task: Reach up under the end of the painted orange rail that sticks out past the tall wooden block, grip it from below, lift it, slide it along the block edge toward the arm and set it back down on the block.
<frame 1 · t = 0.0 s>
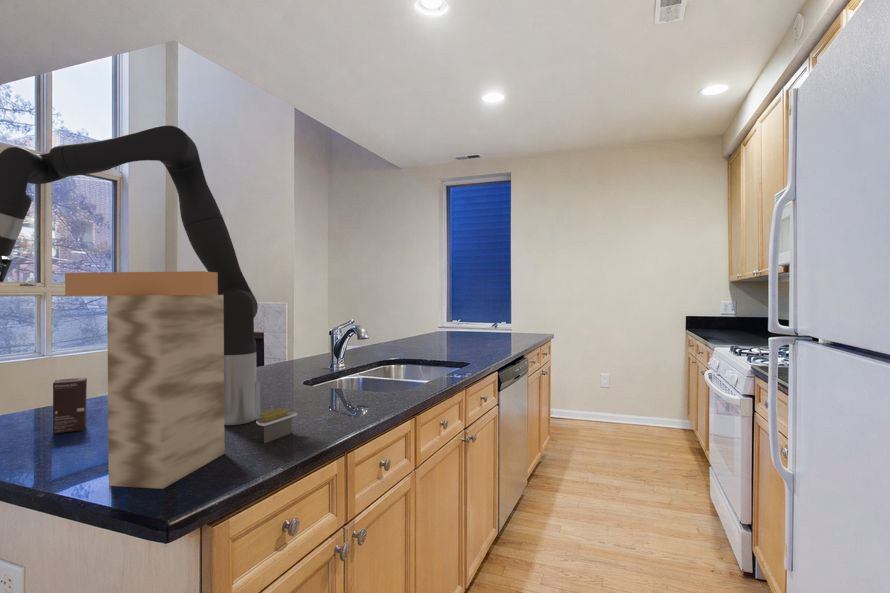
tall wooden block: (171, 468, 86), on the worktop
rail: (141, 295, 81), point 32 cm above the worktop, touching tall wooden block
box: (70, 431, 110), on the worktop
coffee jar: (206, 410, 129), on the worktop
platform: (275, 440, 104), on the worktop
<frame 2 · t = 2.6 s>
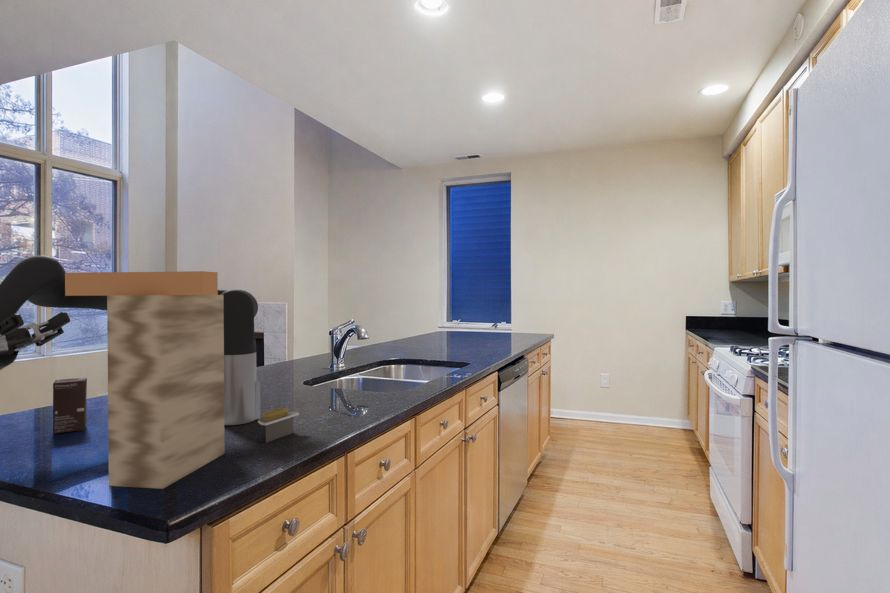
hand: (44, 317, 84), 28 cm above the worktop, tool pointing upward, fingers open, 8 cm apart
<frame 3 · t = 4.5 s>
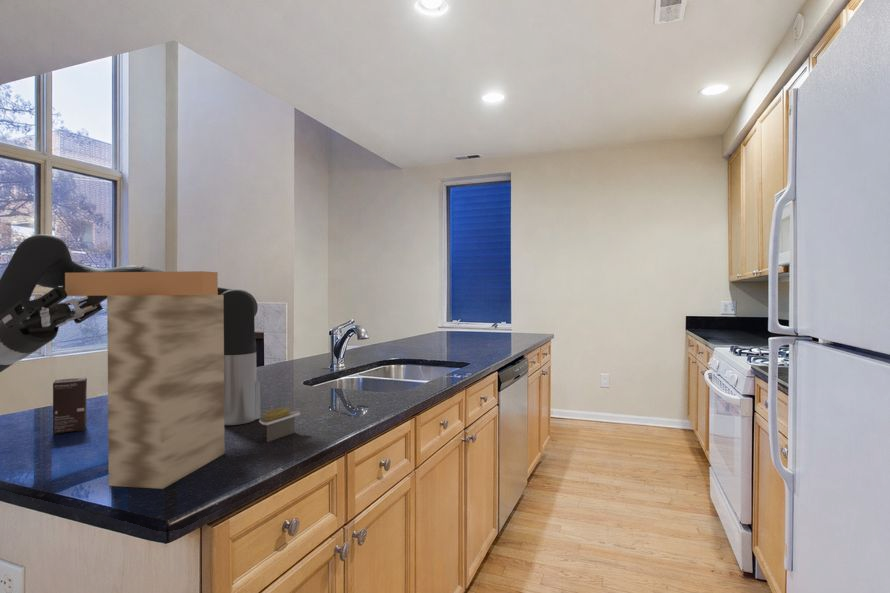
hand: (86, 290, 83), 33 cm above the worktop, tool pointing upward, fingers open, 8 cm apart
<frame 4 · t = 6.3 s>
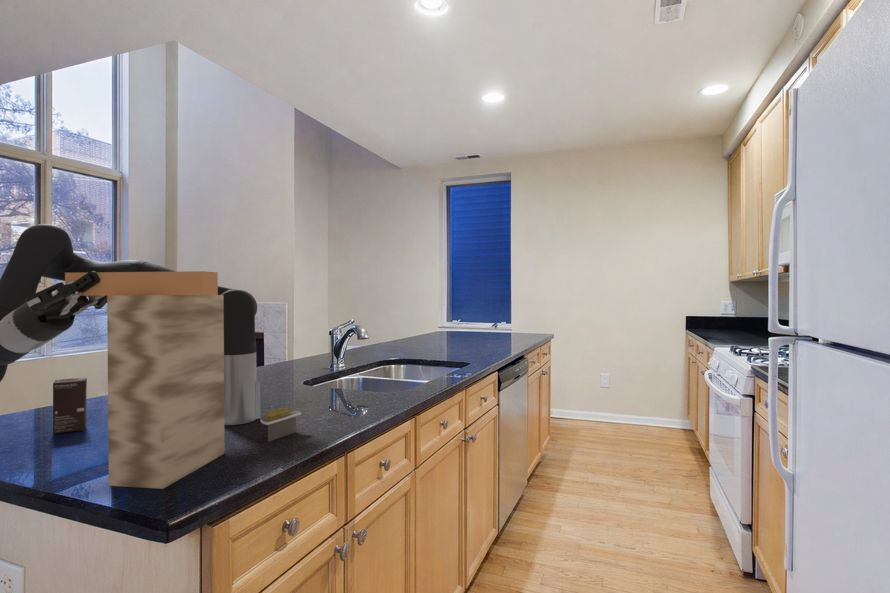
hand: (107, 276, 82), 35 cm above the worktop, tool pointing upward, fingers closed on rail, 4 cm apart
rail: (141, 295, 81), point 32 cm above the worktop, touching gripper, tall wooden block
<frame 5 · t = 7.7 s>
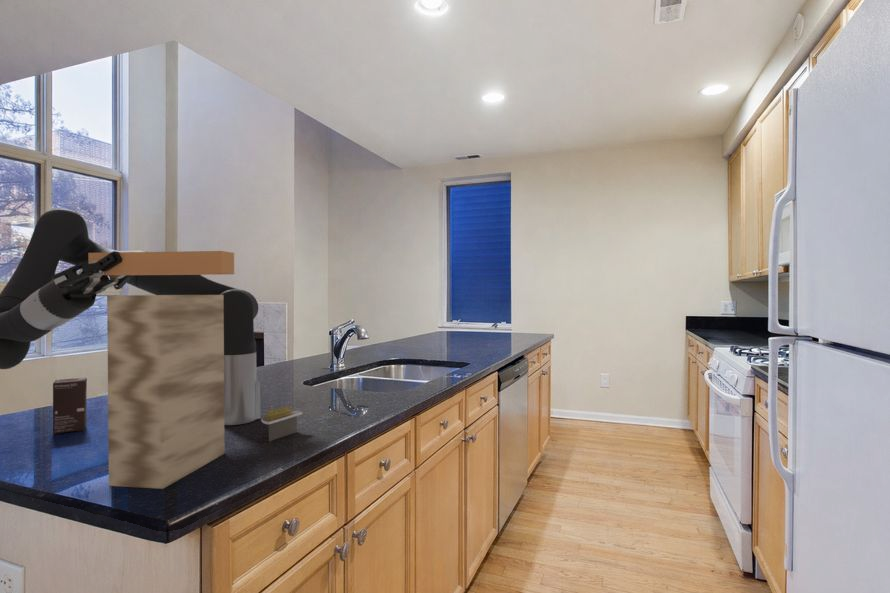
hand: (129, 256, 86), 39 cm above the worktop, tool pointing upward, fingers closed on rail, 4 cm apart
rail: (161, 274, 86), point 36 cm above the worktop, touching gripper
when the fingers open (36 cm above the worktop, at t = 9.3 s): rail stays where it is, resting on tall wooden block.
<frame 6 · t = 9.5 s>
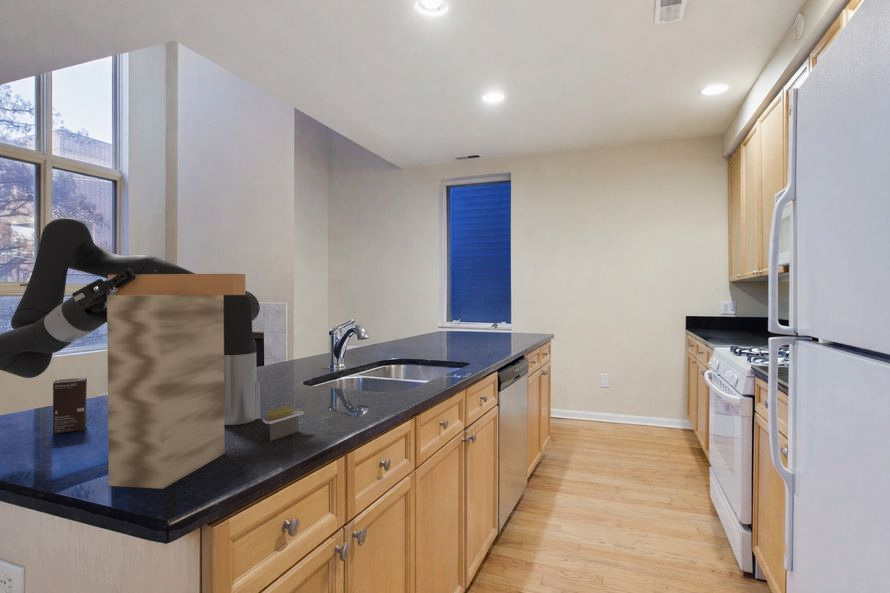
hand: (145, 273, 91), 36 cm above the worktop, tool pointing upward, fingers open, 6 cm apart
rail: (177, 295, 90), point 32 cm above the worktop, touching tall wooden block
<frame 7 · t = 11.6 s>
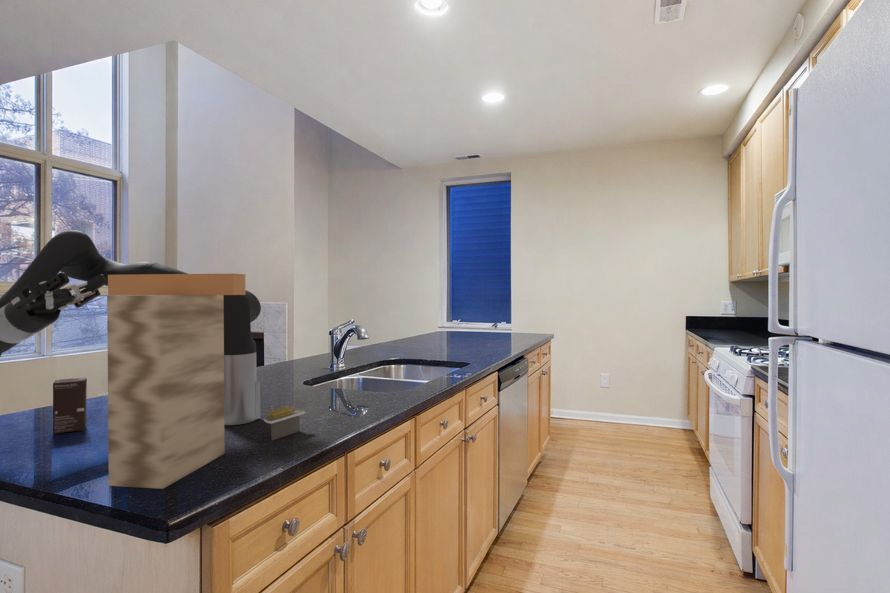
hand: (86, 277, 93), 36 cm above the worktop, tool pointing upward, fingers open, 8 cm apart
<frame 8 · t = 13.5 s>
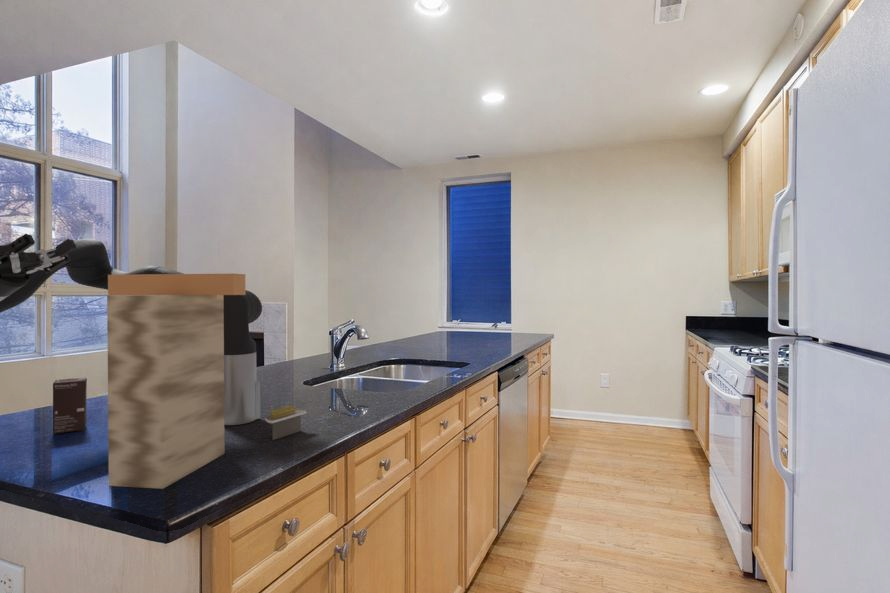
hand: (53, 240, 92), 43 cm above the worktop, tool pointing upward, fingers open, 8 cm apart
at the end: rail inside the target area (0.2 cm from its centre), point 32.0 cm above the worktop; rail moved 8.9 cm from its start; the gripper is holding nothing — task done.
